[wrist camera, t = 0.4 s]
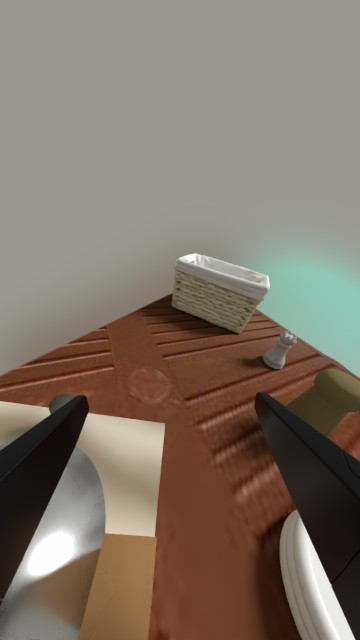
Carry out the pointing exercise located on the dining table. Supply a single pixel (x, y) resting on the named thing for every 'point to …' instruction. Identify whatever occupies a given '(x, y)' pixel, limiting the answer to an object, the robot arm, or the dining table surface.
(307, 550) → the coaster
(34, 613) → the flange plate
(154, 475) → the birch base board
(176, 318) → the dining table surface
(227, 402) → the dining table surface
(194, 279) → the storage basket
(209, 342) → the dining table surface
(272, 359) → the white chess piece
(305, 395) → the cork
